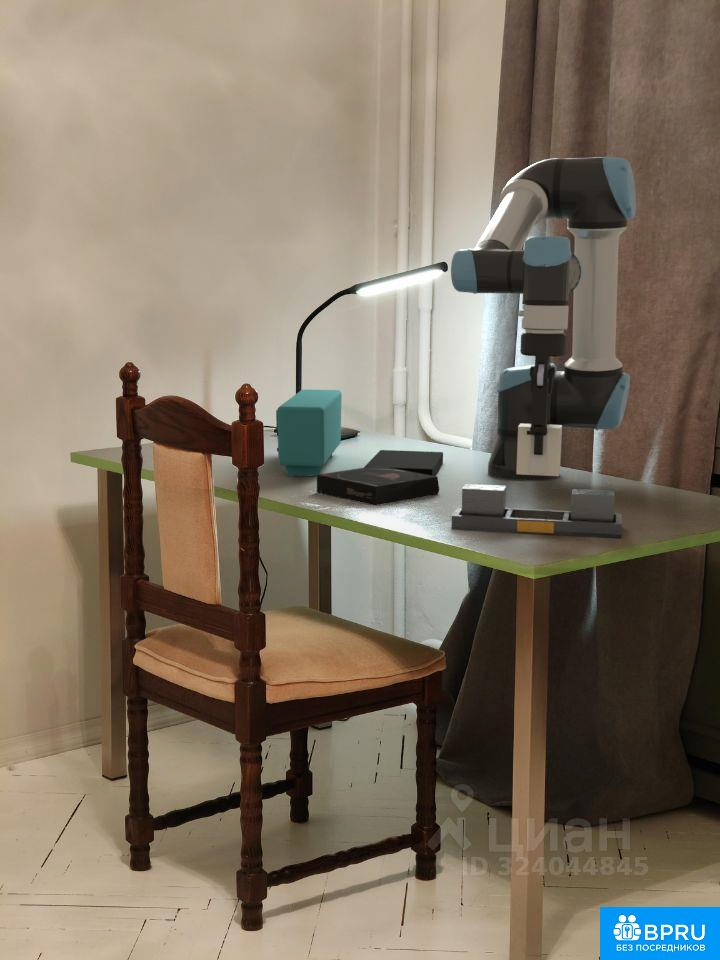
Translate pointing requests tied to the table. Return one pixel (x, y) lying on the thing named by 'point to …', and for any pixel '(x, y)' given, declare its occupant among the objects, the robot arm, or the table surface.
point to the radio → (308, 430)
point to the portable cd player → (377, 485)
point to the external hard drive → (409, 461)
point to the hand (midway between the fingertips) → (538, 471)
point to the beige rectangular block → (552, 450)
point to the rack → (538, 514)
